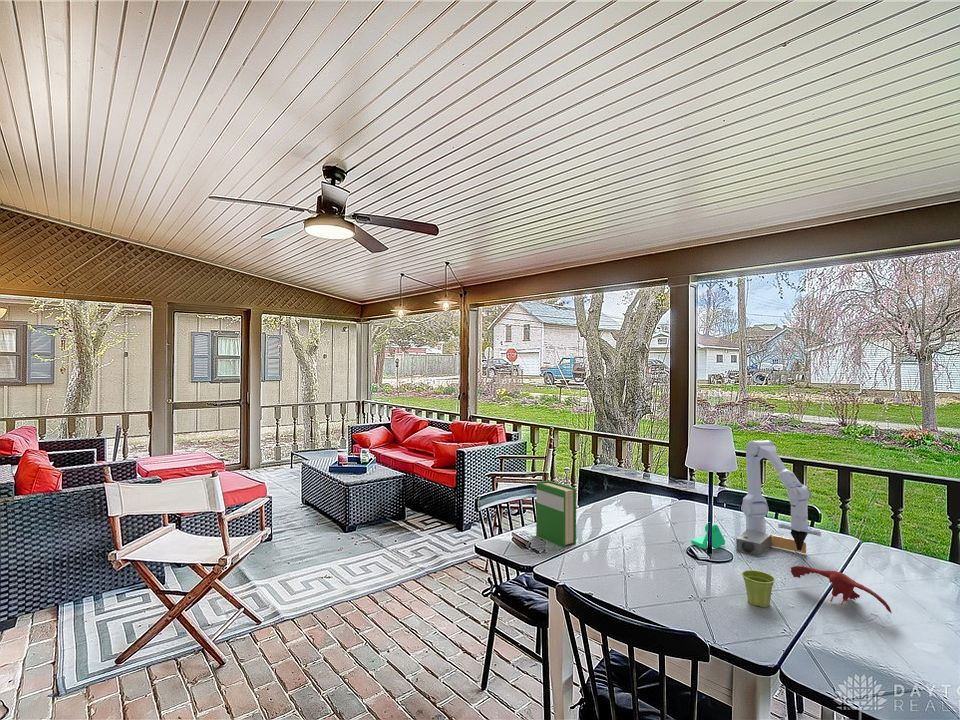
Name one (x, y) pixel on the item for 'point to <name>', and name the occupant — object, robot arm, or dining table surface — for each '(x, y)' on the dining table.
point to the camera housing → (753, 542)
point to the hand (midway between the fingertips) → (799, 549)
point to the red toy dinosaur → (838, 583)
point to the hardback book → (556, 513)
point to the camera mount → (716, 538)
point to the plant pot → (758, 587)
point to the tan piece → (786, 543)
